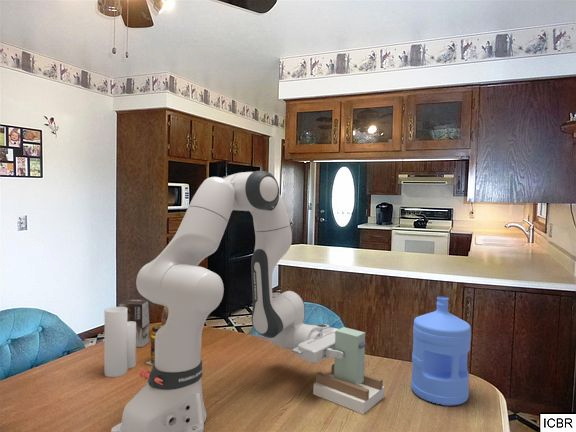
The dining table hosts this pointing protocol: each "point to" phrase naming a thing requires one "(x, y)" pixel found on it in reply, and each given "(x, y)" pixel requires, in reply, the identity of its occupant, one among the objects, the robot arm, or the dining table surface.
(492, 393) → the dining table surface
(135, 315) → the coffee box
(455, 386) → the water jug
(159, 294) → the robot arm
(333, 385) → the cleat board
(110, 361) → the vase
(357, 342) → the sage cabinet
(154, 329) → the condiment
